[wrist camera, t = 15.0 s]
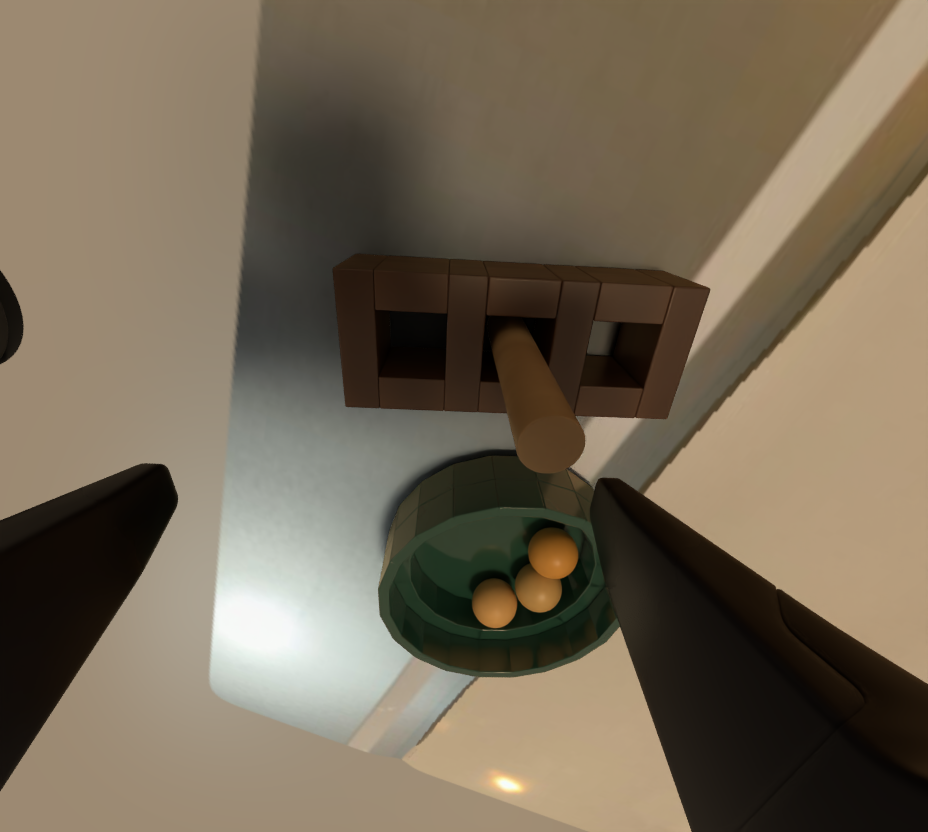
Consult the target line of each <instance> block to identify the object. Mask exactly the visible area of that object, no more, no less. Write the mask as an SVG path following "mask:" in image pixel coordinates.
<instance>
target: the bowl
mask: <svg viewBox="0 0 928 832" xmlns="http://www.w3.org/2000/svg"><path fill="white" fill-rule="evenodd" d="M593 494H594V490H593V488H592V487H591V486H589V485H588V484H587V483H585V482H584V481H582V480H581V479H580V478H578V477H577V476H576V475H574V474H573V473H571V472H570V471H569V470H567V469H565V470H562V471H560V472H556V473H539V472H535V471H533V470H531V469H529V468H527V467H526V466H525V465H524V464H523V463H522V462H521V461H520V459H519V457H518V456H487V457H482V458H478V459H474V460H469V461H465V462H461V463H456V464H454V465H451V466H449V467H447V468H445V469H443V470H442V471H440V472H438V473H436V474H434V475H433V476H431V477H429V478H427V479H425V480H423V481H422V482H421V483H420V484H419V485H418V486H417V487H416V488H415V489H414V490H413V492H412V493H411V494H410V495H409V496H408V497H407V498H406V499H405V500H404V501H403V502H402V503H401V504H400V506H399V507H398V510H397V512H396V515H395V517H394V520H393V522H392V525H391V527H390V530H389V535H388V540H387V545H386V550H385V556H384V561H383V566H382V571H381V576H380V581H379V587H378V597H379V611H380V617H381V618H382V620H383V622H384V624H385V625H386V627H387V629H388V631H389V632H390V634H391V636H392V638H393V639H394V640H395V641H396V642H397V643H398V644H400V645H401V646H402V647H403V648H405V649H406V650H407V651H408V652H409V653H411V654H412V655H413V656H414V657H416V658H418V659H420V660H422V661H424V662H427V663H429V664H431V665H433V666H436V667H438V668H440V669H443V670H445V671H450V672H455V673H460V674H465V675H470V676H475V677H518V676H524V675H530V674H536V673H542V672H546V671H549V670H552V669H555V668H557V667H560V666H563V665H565V664H568V663H571V662H573V661H576V660H578V659H580V658H582V657H584V656H585V655H587V654H588V653H590V652H591V651H593V650H594V649H596V648H598V647H599V646H601V645H602V644H604V643H605V642H607V640H608V639H609V638H610V637H611V636H612V635H613V634H614V633H615V631H616V630H617V629H618V628H619V627H620V625H619V622H618V619H617V616H616V613H615V611H614V608H613V605H612V602H611V599H610V596H609V593H608V590H607V587H606V584H605V580H604V576H603V572H602V568H601V564H600V559H599V555H598V551H597V546H596V542H595V537H594V533H593V528H592V524H591V520H590V506H591V502H592V498H593ZM549 527H554V528H559V529H561V530H564V531H565V532H567V533H568V534H569V535H570V536H571V537H572V538H573V540H574V541H575V543H576V546H577V549H578V561H577V564H576V566H575V568H574V570H573V571H572V572H571V573H570V574H569V575H567V576H566V577H563V578H560V581H561V585H562V594H561V597H560V600H559V602H558V603H557V605H556V606H555V607H554V608H552V609H551V610H549V611H546V612H534V611H531V610H529V609H527V608H526V607H524V606H523V605H522V604H521V602H520V601H519V599H518V597H517V595H516V592H515V580H516V577H517V574H518V572H519V571H520V570H521V569H522V568H523V567H524V566H525V565H527V564H529V563H530V560H529V556H528V547H529V543H530V540H531V539H532V537H533V536H534V535H535V534H536V533H537V532H538V531H540V530H541V529H544V528H549ZM492 578H496V579H501V580H503V581H505V582H506V583H508V584H509V585H510V586H511V587H512V589H513V590H514V592H515V595H516V598H517V610H516V613H515V616H514V617H513V619H512V620H511V621H510V622H509V623H508V624H507V625H505V626H503V627H500V628H490V627H487V626H485V625H484V624H482V623H481V622H480V621H479V620H478V619H477V618H476V616H475V614H474V612H473V608H472V597H473V593H474V591H475V589H476V588H477V586H478V585H479V584H480V583H481V582H483V581H485V580H487V579H492Z"/></svg>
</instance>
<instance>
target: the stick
mask: <svg viewBox="0 0 928 832" xmlns="http://www.w3.org/2000/svg"><path fill="white" fill-rule="evenodd" d="M487 332H488V336H489V340H490V344H491V348H492V352H493V356H494V360H495V365H496V369H497V373H498V377H499V381H500V385H501V389H502V394H503V398H504V402H505V406H506V410H507V414H508V418H509V422H510V427H511V431H512V435H513V439H514V443H515V447H516V451H517V455H518V457H519V459H520V461H521V462H522V463H523V464H524V465H525V466H526V467H527V468H529V469H531V470H533V471H535V472H539V473H556V472H560V471H562V470H565V469H567V468H569V467H570V466H572V465H573V464H574V463H575V462H576V461H577V460H578V459H579V458H580V456H581V454H582V453H583V450H584V447H585V435H584V432H583V429H582V428H581V426H580V424H579V422H578V420H577V418H576V417H575V415H574V413H573V411H572V409H571V407H570V406H569V404H568V402H567V400H566V398H565V396H564V394H563V393H562V391H561V389H560V387H559V385H558V383H557V382H556V380H555V378H554V376H553V374H552V372H551V371H550V369H549V367H548V365H547V363H546V361H545V360H544V358H543V356H542V354H541V352H540V350H539V349H538V347H537V345H536V343H535V341H534V339H533V338H532V336H531V334H530V332H529V330H528V328H527V326H526V325H525V323H524V321H523V319H522V317H510V316H490V317H489V319H488V322H487Z"/></svg>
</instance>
